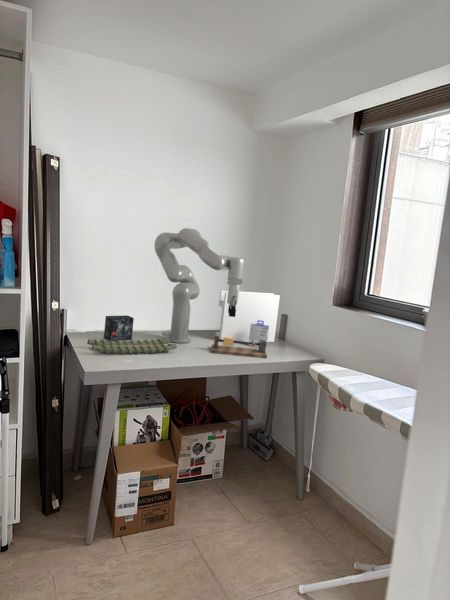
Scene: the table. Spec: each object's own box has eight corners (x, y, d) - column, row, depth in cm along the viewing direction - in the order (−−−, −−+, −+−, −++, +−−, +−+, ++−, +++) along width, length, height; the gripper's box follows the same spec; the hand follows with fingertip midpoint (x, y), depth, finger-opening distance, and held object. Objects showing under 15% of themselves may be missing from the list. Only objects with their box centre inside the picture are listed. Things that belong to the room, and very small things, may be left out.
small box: (109, 341, 235) (111, 318, 233) (103, 338, 240) (104, 315, 238) (132, 340, 244) (134, 317, 242) (125, 336, 249) (127, 315, 247)
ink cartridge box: (266, 346, 262) (269, 321, 260) (265, 348, 257) (268, 322, 255) (249, 343, 264) (252, 318, 262) (248, 345, 259) (251, 320, 257)
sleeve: (223, 344, 238) (223, 338, 238) (222, 343, 242) (223, 336, 241) (232, 345, 239) (233, 339, 238) (232, 344, 242) (233, 337, 242)
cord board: (211, 352, 234) (213, 338, 233) (211, 347, 246) (212, 333, 245) (266, 358, 236) (268, 343, 235) (263, 352, 248) (265, 338, 247)
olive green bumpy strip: (92, 356, 207) (93, 345, 206) (86, 348, 219) (86, 338, 219) (177, 354, 226) (178, 344, 225) (167, 346, 238) (168, 337, 238)
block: (220, 341, 262) (226, 292, 258) (215, 338, 269) (220, 290, 265) (274, 341, 277) (280, 295, 273) (267, 338, 284) (273, 293, 280)
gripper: (226, 279, 244) (223, 311, 246) (228, 282, 227) (224, 317, 229) (241, 280, 244) (237, 312, 247) (243, 284, 227) (239, 318, 230)
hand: (231, 314), depth 238 cm, fingers open, 9 cm apart
